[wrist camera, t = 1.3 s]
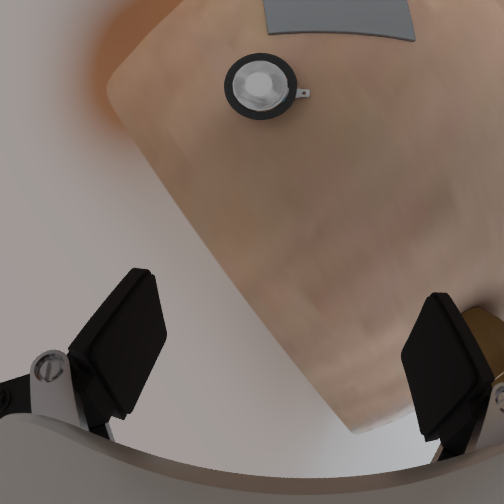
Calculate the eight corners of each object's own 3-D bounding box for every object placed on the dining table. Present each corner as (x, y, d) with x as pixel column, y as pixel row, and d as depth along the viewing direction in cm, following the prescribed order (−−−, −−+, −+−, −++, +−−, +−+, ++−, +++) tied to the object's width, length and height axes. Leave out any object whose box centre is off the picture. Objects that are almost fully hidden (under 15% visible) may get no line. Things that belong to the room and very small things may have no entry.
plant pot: (509, 306, 32) (548, 368, 18) (457, 360, 39) (481, 426, 25) (477, 272, 31) (530, 345, 17) (416, 339, 38) (442, 421, 24)
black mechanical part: (308, 71, 24) (315, 50, 15) (308, 119, 26) (317, 121, 17) (243, 71, 24) (219, 53, 16) (245, 118, 27) (222, 121, 18)
